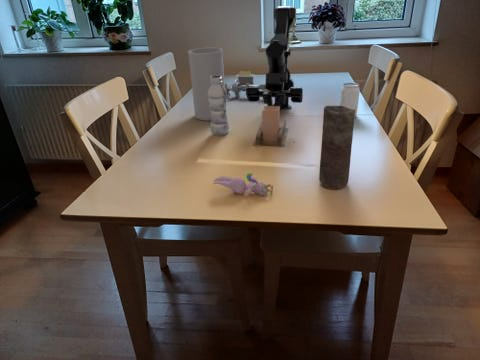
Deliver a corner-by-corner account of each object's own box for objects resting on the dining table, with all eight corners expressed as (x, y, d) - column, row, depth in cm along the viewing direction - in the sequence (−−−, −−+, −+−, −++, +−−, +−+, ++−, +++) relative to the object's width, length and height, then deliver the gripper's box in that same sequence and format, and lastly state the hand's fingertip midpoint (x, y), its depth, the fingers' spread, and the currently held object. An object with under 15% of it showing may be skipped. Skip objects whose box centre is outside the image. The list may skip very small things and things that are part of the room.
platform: (232, 81, 191) (231, 69, 188) (264, 81, 187) (264, 69, 184) (226, 87, 181) (225, 74, 178) (261, 87, 177) (261, 74, 174)
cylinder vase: (232, 114, 141) (229, 49, 129) (210, 123, 133) (204, 54, 121) (211, 109, 149) (206, 46, 136) (188, 117, 141) (181, 51, 129)
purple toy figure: (272, 191, 91) (215, 181, 92) (276, 171, 88) (217, 161, 89) (270, 205, 86) (210, 193, 87) (274, 184, 83) (212, 172, 84)
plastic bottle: (232, 132, 125) (229, 74, 115) (225, 139, 119) (221, 79, 109) (215, 130, 127) (210, 74, 117) (207, 137, 121) (202, 79, 111)
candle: (315, 176, 94) (320, 103, 84) (341, 174, 94) (350, 101, 85) (323, 191, 87) (330, 113, 78) (352, 189, 88) (362, 111, 78)
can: (357, 119, 131) (361, 87, 125) (339, 118, 132) (342, 87, 126) (355, 113, 136) (359, 82, 130) (338, 113, 138) (341, 82, 132)
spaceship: (271, 84, 150) (275, 73, 155) (198, 89, 162) (203, 78, 166) (275, 99, 156) (278, 88, 160) (203, 102, 168) (208, 92, 172)
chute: (260, 129, 126) (260, 119, 124) (288, 130, 124) (288, 120, 122) (252, 147, 112) (252, 136, 110) (284, 149, 110) (284, 137, 108)
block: (264, 134, 119) (264, 105, 114) (279, 135, 118) (279, 106, 113) (262, 140, 115) (262, 110, 110) (277, 141, 114) (278, 111, 109)
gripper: (245, 62, 114) (240, 105, 110) (303, 61, 111) (300, 106, 107) (250, 80, 125) (245, 120, 121) (303, 81, 121) (300, 122, 117)
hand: (272, 117), depth 116 cm, fingers closed, pressing on block
